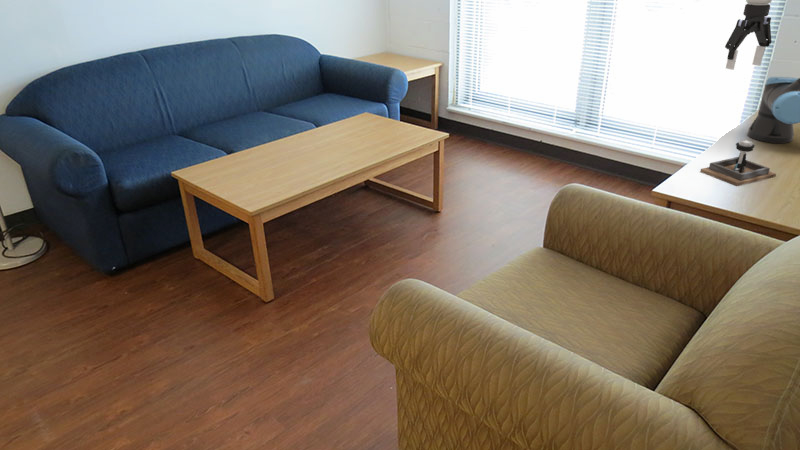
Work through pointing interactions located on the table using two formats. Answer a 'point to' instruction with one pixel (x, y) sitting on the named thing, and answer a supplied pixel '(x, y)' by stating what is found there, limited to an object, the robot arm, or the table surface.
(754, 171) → the dock
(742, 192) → the table surface
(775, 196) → the table surface
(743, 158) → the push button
